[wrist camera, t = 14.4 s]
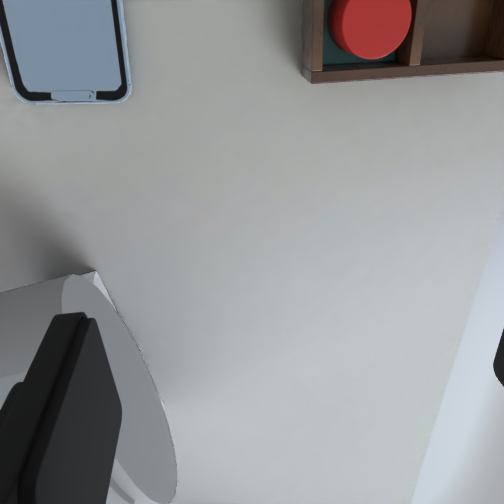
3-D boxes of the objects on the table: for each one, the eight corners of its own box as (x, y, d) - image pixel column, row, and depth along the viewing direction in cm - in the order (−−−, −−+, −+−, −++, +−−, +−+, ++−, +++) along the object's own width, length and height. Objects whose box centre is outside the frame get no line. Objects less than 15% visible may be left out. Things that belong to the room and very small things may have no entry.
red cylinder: (328, -18, 27) (343, -20, 24) (393, -22, 27) (416, -24, 24) (325, 54, 29) (339, 61, 26) (385, 50, 29) (407, 57, 26)
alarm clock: (11, 254, 34) (-79, 375, 23) (87, 234, 34) (31, 348, 23) (123, 437, 46) (98, 575, 35) (180, 423, 46) (173, 558, 35)
